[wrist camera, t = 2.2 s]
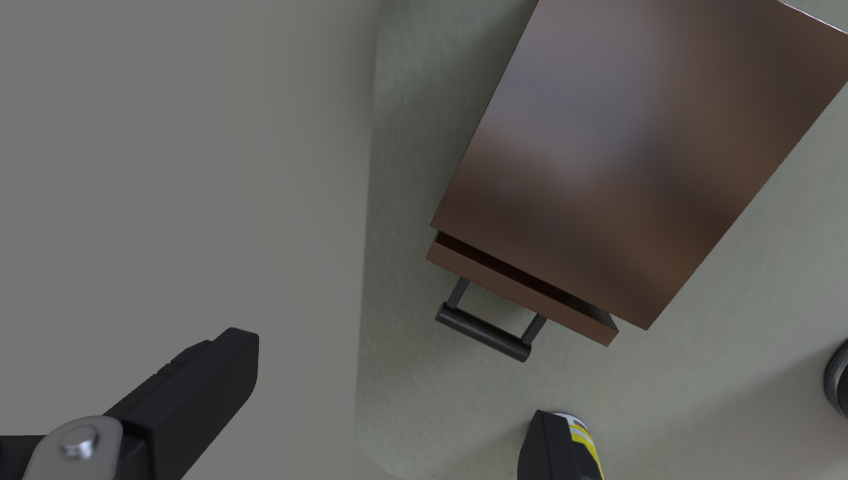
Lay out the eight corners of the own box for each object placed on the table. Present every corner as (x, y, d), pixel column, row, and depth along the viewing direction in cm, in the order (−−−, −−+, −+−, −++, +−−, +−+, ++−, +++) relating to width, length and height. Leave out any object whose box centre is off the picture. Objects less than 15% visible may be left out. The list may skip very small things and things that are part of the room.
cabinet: (599, 262, 29) (646, 331, 20) (448, 189, 29) (429, 225, 20) (733, 68, 24) (876, 46, 15) (549, -21, 24) (583, -95, 15)
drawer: (544, 337, 31) (561, 407, 24) (415, 274, 31) (392, 325, 24) (696, 115, 25) (783, 119, 17) (532, 36, 25) (549, 7, 17)
